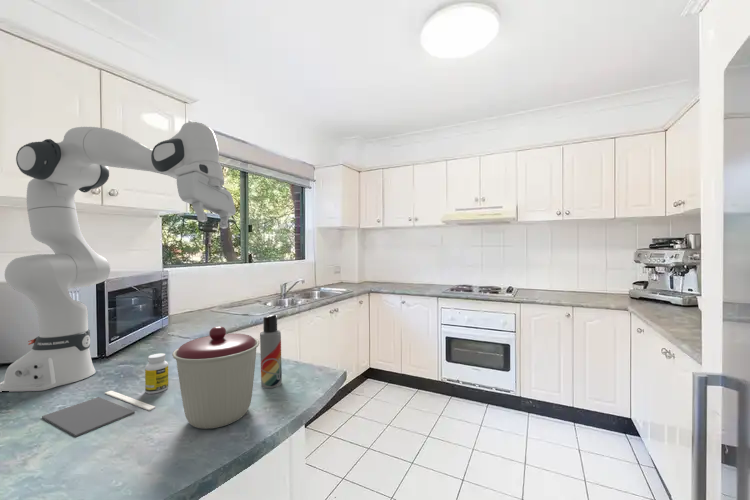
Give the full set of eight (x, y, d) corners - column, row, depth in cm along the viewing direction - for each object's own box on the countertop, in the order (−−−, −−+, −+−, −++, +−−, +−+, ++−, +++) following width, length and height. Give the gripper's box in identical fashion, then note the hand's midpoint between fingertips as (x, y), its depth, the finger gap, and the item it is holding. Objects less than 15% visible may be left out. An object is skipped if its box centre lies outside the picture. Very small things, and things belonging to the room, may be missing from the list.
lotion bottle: (273, 389, 89) (272, 317, 89) (256, 387, 91) (255, 316, 91) (285, 381, 94) (284, 313, 94) (269, 379, 96) (268, 312, 96)
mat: (41, 417, 76) (41, 416, 76) (98, 398, 86) (98, 396, 86) (75, 436, 68) (75, 435, 68) (134, 413, 78) (134, 411, 78)
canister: (199, 450, 62) (197, 341, 62) (159, 423, 73) (157, 330, 73) (276, 411, 77) (274, 323, 77) (233, 393, 88) (232, 315, 88)
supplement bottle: (157, 395, 87) (156, 359, 87) (140, 393, 88) (139, 358, 88) (173, 386, 93) (172, 352, 93) (157, 385, 94) (156, 351, 94)
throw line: (104, 393, 89) (104, 392, 89) (111, 391, 90) (111, 390, 90) (149, 410, 79) (149, 409, 79) (155, 408, 80) (155, 406, 80)
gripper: (218, 191, 101) (225, 233, 99) (169, 167, 81) (177, 219, 79) (236, 186, 100) (244, 228, 98) (192, 160, 80) (200, 213, 78)
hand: (214, 224), depth 88 cm, fingers open, 8 cm apart
